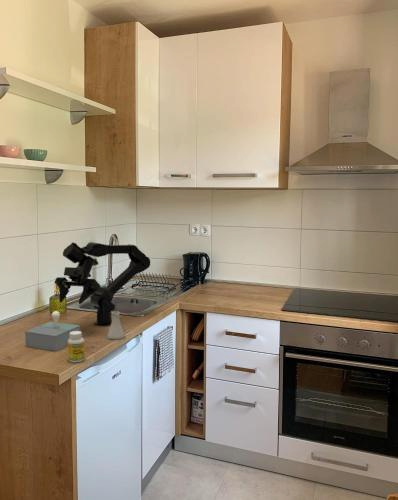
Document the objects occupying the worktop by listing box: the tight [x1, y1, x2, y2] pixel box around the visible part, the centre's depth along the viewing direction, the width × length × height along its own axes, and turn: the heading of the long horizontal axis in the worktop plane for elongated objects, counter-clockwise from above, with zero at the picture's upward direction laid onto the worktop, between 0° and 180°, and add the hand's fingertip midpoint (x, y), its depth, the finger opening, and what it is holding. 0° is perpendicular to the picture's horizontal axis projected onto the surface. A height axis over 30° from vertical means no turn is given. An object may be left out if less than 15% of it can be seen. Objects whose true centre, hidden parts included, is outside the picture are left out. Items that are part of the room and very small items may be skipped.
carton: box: [24, 325, 81, 352], centre depth 171 cm, size 14×14×6 cm
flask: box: [106, 311, 126, 341], centre depth 178 cm, size 7×7×10 cm
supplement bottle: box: [67, 330, 86, 363], centre depth 154 cm, size 5×5×10 cm
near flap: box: [39, 310, 81, 332], centre depth 174 cm, size 7×14×7 cm, turn 67°
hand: (69, 302), depth 179 cm, fingers open, 9 cm apart
